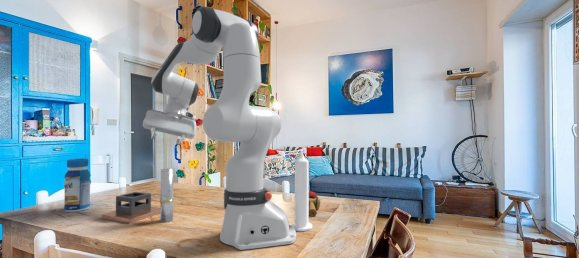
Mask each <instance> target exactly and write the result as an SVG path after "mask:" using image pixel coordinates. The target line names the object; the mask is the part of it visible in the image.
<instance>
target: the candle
mask: <svg viewBox="0 0 579 258" xmlns="http://www.w3.org/2000/svg"><path fill="white" fill-rule="evenodd" d="M299 154H300V155H299V157H298V158H296V159H295V160H294V222H292V223H291V224H290V225H291V226H292V227H293V228H294V229H295V231H296V232H297V231H298V232H307V231H311V230H312V229H313V223H310V222H309V216H310V215H309V185H310V184H309V175H310V174H309V168H310V167H309V166H310V165H309V160H308V158H305V156H304V151H303V150H301V151H300V153H299Z"/></svg>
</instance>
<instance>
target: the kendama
mask: <svg viewBox="0 0 579 258" xmlns="http://www.w3.org/2000/svg"><path fill="white" fill-rule="evenodd" d="M320 206H321V196H318V195H317V193H316V192H314V191H311V190H310V191H309V215H308V216H310V217H316V216H317V214H318V213H317V212H318V211H317V210H319V209H320Z"/></svg>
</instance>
